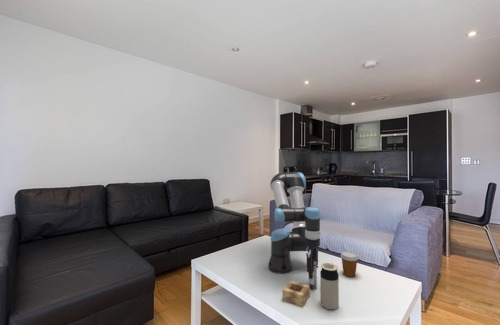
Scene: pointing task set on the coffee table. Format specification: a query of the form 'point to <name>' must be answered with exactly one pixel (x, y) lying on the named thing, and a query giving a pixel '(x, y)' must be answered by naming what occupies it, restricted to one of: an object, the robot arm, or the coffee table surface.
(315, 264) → the metal canister
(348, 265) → the disposable coffee cup
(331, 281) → the travel mug
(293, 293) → the square frame
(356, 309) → the coffee table surface
